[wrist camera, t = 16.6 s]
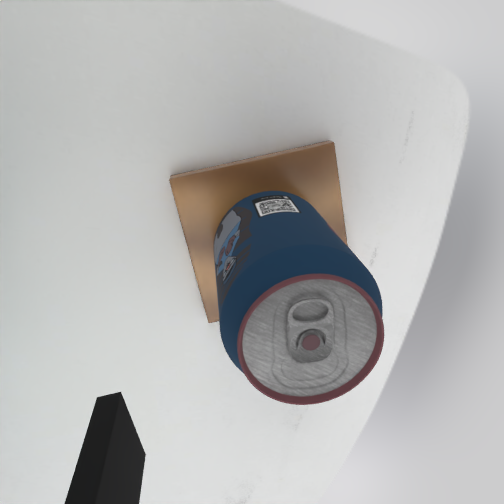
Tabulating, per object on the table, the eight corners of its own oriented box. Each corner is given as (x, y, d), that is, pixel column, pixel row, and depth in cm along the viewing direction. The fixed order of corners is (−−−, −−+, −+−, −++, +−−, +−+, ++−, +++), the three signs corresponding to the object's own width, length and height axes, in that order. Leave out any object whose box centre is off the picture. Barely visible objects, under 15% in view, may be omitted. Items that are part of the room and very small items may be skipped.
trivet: (169, 175, 27) (168, 179, 26) (329, 140, 27) (334, 142, 26) (208, 316, 31) (208, 323, 30) (348, 283, 31) (353, 290, 30)
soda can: (322, 283, 30) (395, 406, 19) (218, 294, 29) (229, 427, 18) (321, 180, 27) (405, 252, 16) (207, 190, 27) (212, 271, 16)
